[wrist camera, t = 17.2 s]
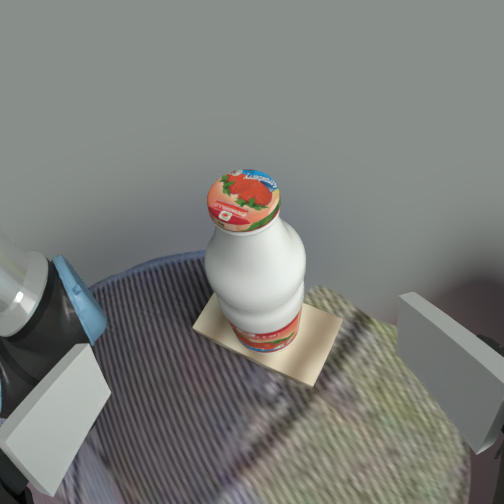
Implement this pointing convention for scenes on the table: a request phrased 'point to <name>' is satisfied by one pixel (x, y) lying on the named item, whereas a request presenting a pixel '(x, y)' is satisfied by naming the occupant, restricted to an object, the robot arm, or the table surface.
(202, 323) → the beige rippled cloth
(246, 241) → the fruit juice
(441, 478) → the table surface
